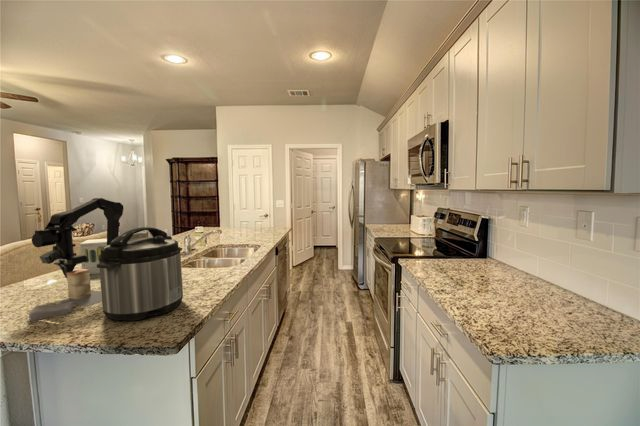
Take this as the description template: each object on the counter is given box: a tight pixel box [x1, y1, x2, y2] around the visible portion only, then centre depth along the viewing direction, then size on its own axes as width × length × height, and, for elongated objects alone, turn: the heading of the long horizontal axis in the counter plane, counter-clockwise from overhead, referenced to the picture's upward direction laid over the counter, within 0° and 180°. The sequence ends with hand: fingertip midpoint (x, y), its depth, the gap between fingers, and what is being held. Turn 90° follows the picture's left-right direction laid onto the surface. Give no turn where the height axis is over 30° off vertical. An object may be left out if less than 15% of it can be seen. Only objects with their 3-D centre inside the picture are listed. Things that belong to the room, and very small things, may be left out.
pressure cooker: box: [97, 226, 184, 321], centre depth 118 cm, size 30×28×32 cm
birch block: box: [66, 268, 92, 299], centre depth 131 cm, size 6×5×11 cm
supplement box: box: [79, 238, 107, 275], centre depth 173 cm, size 13×13×18 cm
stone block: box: [28, 302, 75, 322], centre depth 115 cm, size 12×5×10 cm
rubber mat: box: [57, 289, 102, 307], centre depth 130 cm, size 14×18×1 cm
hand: (67, 277), depth 133 cm, fingers closed
